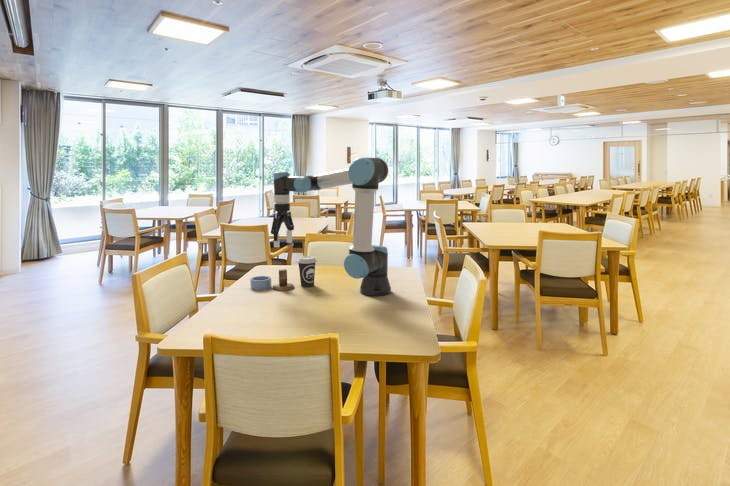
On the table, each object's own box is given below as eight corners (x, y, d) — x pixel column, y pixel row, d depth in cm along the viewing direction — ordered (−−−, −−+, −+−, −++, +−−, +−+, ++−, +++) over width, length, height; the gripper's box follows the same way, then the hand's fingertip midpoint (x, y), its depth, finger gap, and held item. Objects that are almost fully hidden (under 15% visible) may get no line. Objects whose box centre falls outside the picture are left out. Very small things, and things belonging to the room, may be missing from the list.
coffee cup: (318, 284, 245) (317, 255, 243) (314, 288, 236) (314, 259, 233) (300, 283, 246) (299, 255, 244) (296, 288, 237) (295, 259, 234)
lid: (298, 287, 237) (297, 269, 235) (282, 291, 229) (281, 273, 227) (284, 284, 243) (283, 266, 242) (268, 288, 235) (267, 270, 234)
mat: (299, 288, 237) (299, 287, 237) (282, 293, 228) (282, 292, 228) (284, 284, 244) (284, 283, 244) (267, 289, 235) (267, 288, 235)
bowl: (275, 287, 238) (274, 277, 238) (259, 291, 231) (259, 281, 230) (262, 284, 245) (262, 275, 244) (246, 288, 237) (246, 278, 236)
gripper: (286, 200, 247) (288, 240, 250) (262, 205, 223) (264, 248, 227) (299, 201, 245) (300, 241, 248) (276, 205, 221) (278, 249, 225)
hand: (283, 245), depth 238 cm, fingers open, 13 cm apart
